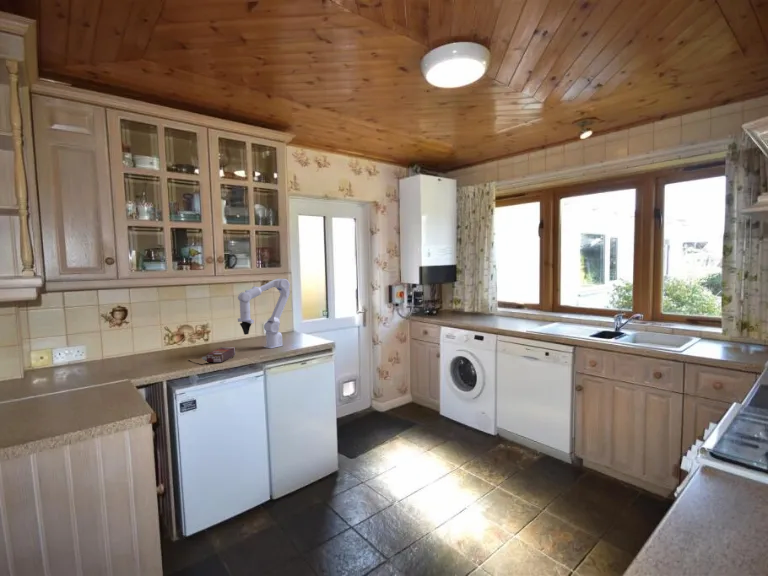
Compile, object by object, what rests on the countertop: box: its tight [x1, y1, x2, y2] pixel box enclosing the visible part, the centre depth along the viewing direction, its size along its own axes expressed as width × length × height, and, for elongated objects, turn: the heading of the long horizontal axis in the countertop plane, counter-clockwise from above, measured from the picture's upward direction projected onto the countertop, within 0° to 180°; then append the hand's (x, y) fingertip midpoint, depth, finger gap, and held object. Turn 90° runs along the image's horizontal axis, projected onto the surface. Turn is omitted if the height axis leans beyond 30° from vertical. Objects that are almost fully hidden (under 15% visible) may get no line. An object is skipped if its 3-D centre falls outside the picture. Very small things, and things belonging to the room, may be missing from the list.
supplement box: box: [206, 347, 236, 363], centre depth 215 cm, size 9×5×16 cm
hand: (246, 334), depth 233 cm, fingers closed
